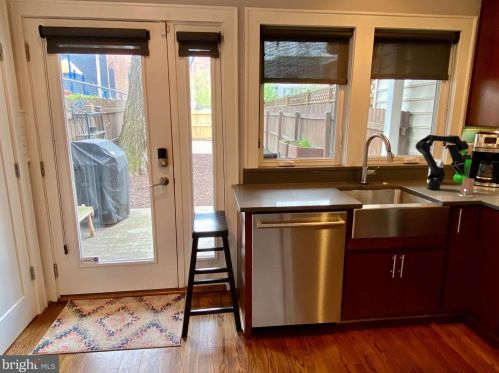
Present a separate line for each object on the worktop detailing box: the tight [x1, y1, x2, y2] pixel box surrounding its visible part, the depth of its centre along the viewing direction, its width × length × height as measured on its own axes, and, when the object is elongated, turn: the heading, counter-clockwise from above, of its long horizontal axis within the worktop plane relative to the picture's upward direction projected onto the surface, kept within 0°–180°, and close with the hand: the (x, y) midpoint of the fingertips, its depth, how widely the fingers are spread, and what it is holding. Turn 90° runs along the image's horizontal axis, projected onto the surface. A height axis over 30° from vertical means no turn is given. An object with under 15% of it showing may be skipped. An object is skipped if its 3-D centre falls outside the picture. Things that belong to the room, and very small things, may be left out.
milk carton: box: [426, 158, 444, 184], centre depth 251 cm, size 7×7×19 cm
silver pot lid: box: [456, 188, 475, 199], centre depth 217 cm, size 10×10×5 cm
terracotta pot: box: [459, 177, 475, 195], centre depth 223 cm, size 6×6×10 cm
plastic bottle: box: [452, 150, 473, 185], centre depth 254 cm, size 10×10×25 cm
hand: (462, 174), depth 227 cm, fingers open, 9 cm apart
